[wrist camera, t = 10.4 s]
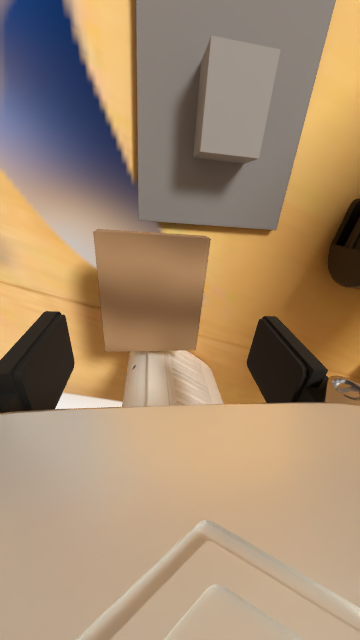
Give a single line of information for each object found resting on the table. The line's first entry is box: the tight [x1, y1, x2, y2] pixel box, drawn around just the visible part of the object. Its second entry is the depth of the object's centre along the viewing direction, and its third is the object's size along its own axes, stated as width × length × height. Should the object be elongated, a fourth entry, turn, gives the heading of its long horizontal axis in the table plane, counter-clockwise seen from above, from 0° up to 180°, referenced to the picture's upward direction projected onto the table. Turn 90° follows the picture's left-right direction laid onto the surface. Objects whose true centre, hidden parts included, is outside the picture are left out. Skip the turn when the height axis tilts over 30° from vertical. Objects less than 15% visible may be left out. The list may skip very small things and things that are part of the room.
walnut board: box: [93, 229, 211, 352], centre depth 17 cm, size 9×7×1 cm
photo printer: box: [122, 350, 224, 407], centre depth 21 cm, size 10×4×12 cm, turn 50°
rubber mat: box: [136, 0, 336, 230], centre depth 15 cm, size 14×12×3 cm
